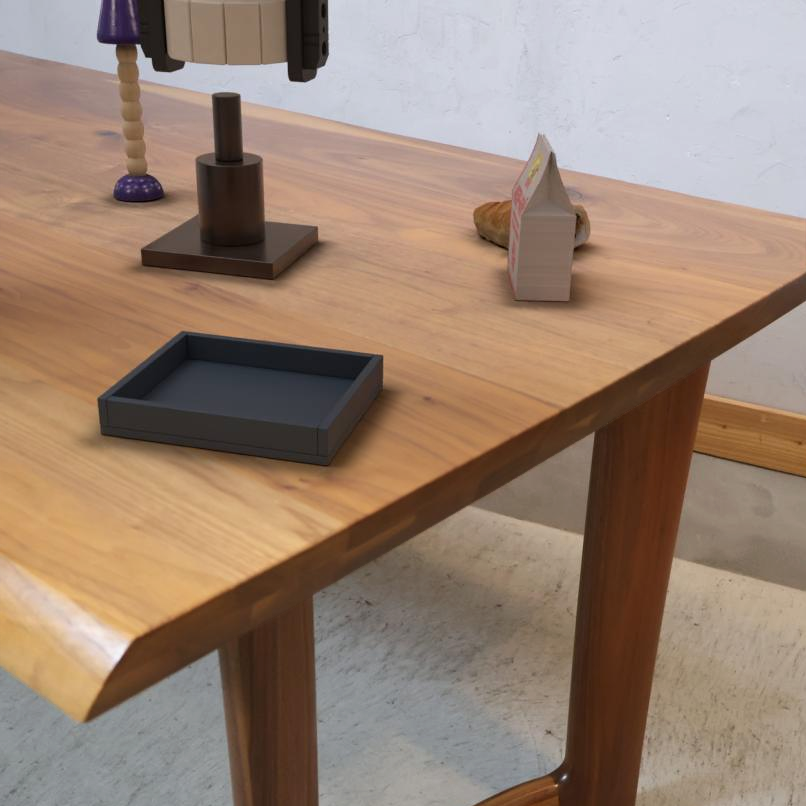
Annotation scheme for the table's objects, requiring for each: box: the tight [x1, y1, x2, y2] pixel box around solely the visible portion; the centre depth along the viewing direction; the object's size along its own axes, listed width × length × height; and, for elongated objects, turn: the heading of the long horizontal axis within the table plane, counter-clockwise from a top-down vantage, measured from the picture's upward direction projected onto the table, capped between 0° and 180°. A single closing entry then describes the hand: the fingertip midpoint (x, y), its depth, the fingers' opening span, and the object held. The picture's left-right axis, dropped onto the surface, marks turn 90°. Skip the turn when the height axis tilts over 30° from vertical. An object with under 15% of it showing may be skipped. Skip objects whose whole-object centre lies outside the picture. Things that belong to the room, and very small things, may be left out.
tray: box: [96, 330, 384, 467], centre depth 61 cm, size 12×10×2 cm
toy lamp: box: [96, 0, 165, 202], centre depth 96 cm, size 5×5×17 cm
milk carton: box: [506, 132, 576, 302], centre depth 80 cm, size 4×7×10 cm, turn 2°
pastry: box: [472, 199, 591, 250], centre depth 91 cm, size 9×7×4 cm
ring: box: [164, 0, 287, 66], centre depth 53 cm, size 6×6×3 cm
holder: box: [140, 91, 319, 280], centre depth 84 cm, size 10×10×12 cm
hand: (236, 73), depth 54 cm, fingers closed on ring, 6 cm apart
